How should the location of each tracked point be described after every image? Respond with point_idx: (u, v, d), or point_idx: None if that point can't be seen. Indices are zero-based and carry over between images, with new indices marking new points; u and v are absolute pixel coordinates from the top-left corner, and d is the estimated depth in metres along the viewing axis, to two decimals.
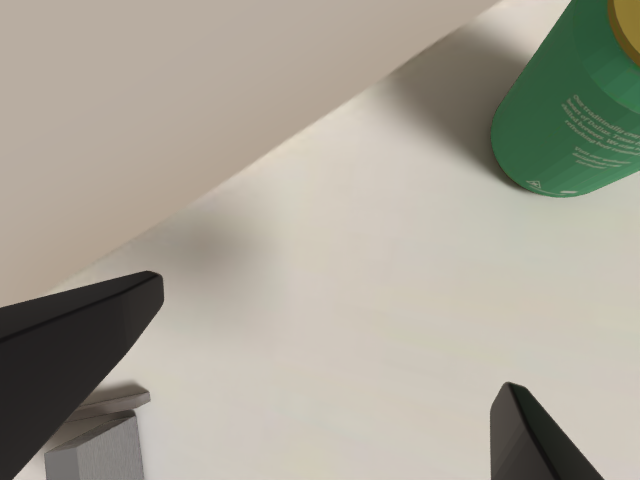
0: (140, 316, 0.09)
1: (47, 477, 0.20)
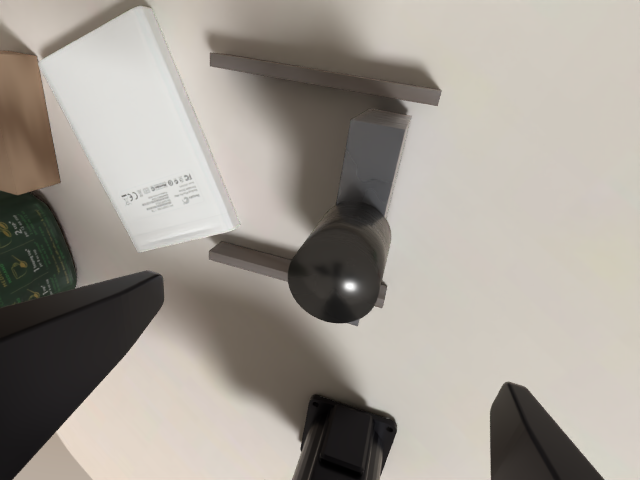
0: (140, 316, 0.09)
1: (346, 153, 0.14)
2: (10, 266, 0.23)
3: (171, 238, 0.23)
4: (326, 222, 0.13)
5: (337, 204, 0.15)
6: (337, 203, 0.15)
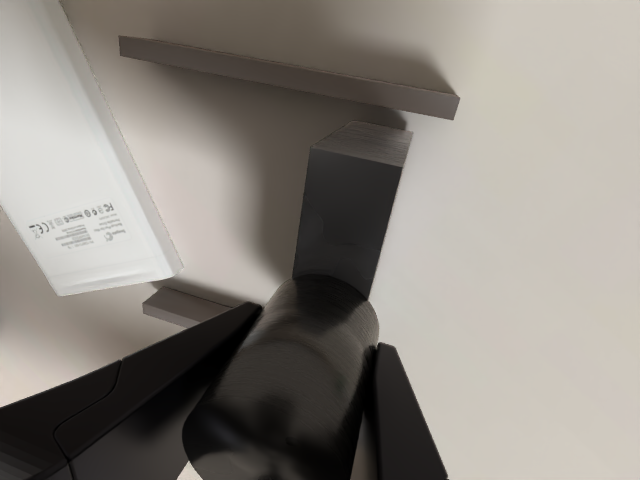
0: None
1: (305, 201, 0.08)
2: None
3: (95, 282, 0.18)
4: (263, 328, 0.07)
5: (294, 277, 0.09)
6: (294, 275, 0.09)
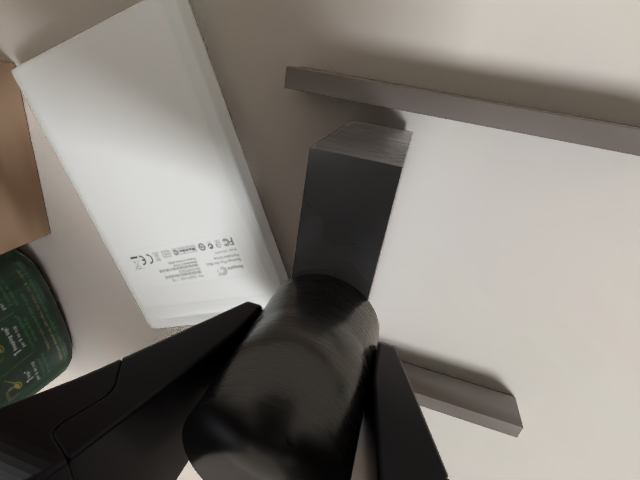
0: None
1: (304, 201, 0.08)
2: None
3: (198, 316, 0.17)
4: (263, 329, 0.07)
5: (293, 278, 0.09)
6: (294, 276, 0.09)
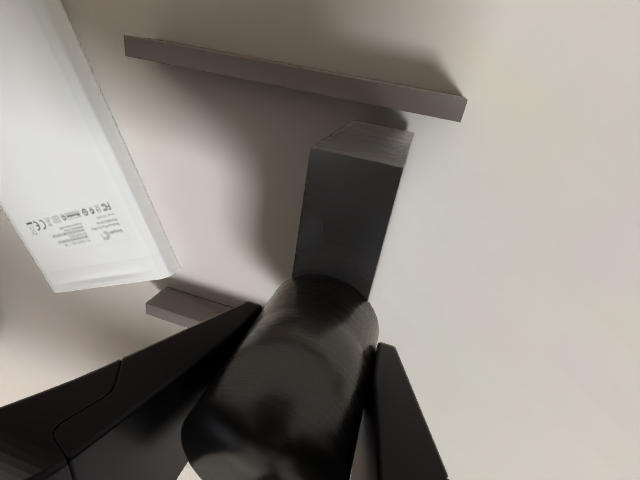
0: None
1: (305, 201, 0.08)
2: None
3: (92, 280, 0.18)
4: (263, 328, 0.07)
5: (293, 278, 0.09)
6: (294, 276, 0.09)
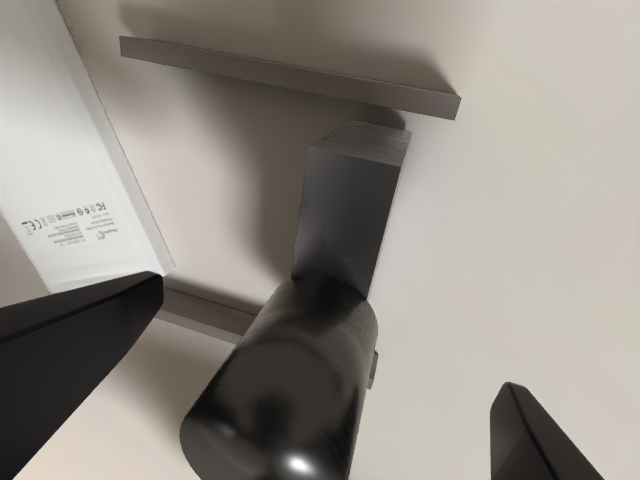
0: (140, 316, 0.09)
1: (303, 200, 0.08)
2: None
3: (87, 279, 0.18)
4: (262, 328, 0.07)
5: (292, 277, 0.09)
6: (293, 275, 0.09)
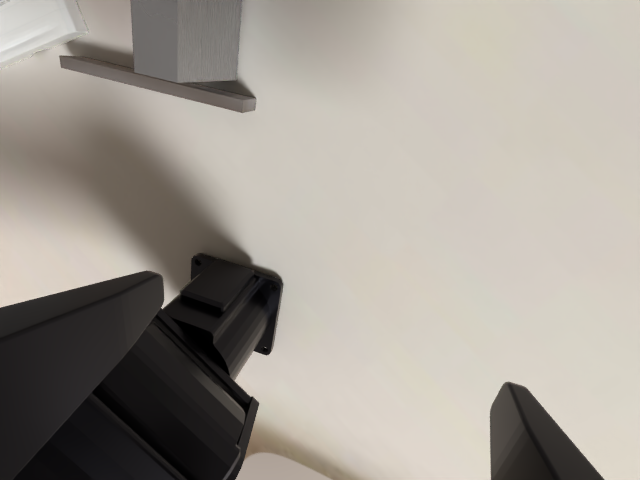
0: (140, 316, 0.09)
1: None
2: None
3: (14, 47, 0.21)
4: None
5: None
6: None
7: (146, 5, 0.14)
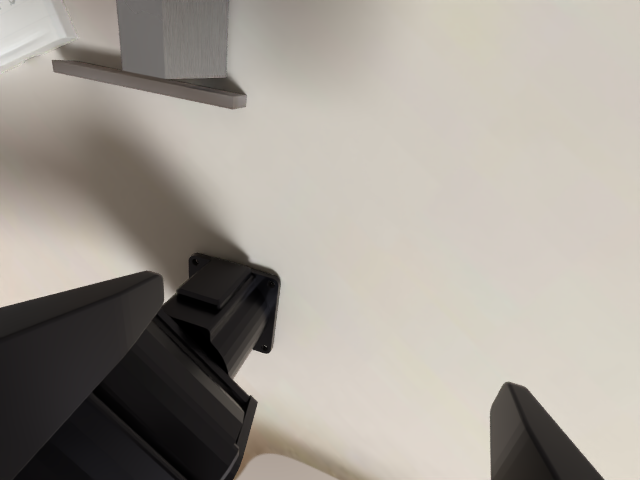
0: (140, 316, 0.09)
1: None
2: None
3: (6, 54, 0.21)
4: None
5: None
6: None
7: (131, 3, 0.14)
